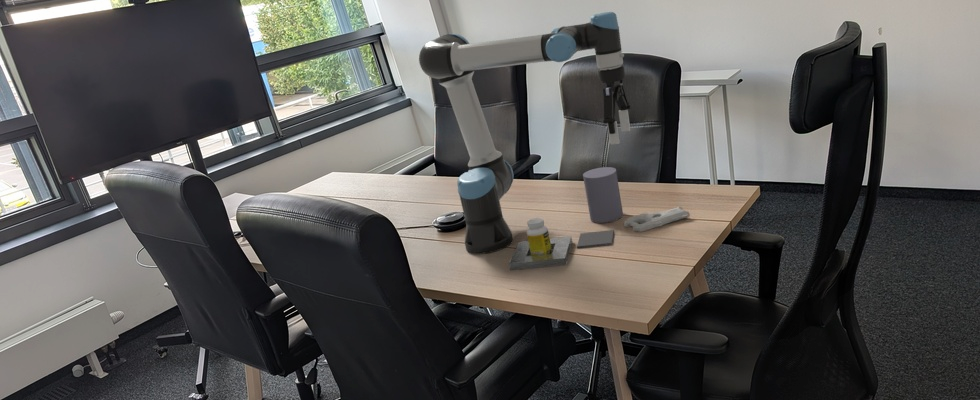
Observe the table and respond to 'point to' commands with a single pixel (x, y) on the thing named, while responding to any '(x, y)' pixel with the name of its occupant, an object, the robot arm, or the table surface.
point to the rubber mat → (595, 239)
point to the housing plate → (558, 256)
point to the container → (603, 194)
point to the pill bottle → (538, 237)
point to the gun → (655, 219)
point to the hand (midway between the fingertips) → (620, 137)
